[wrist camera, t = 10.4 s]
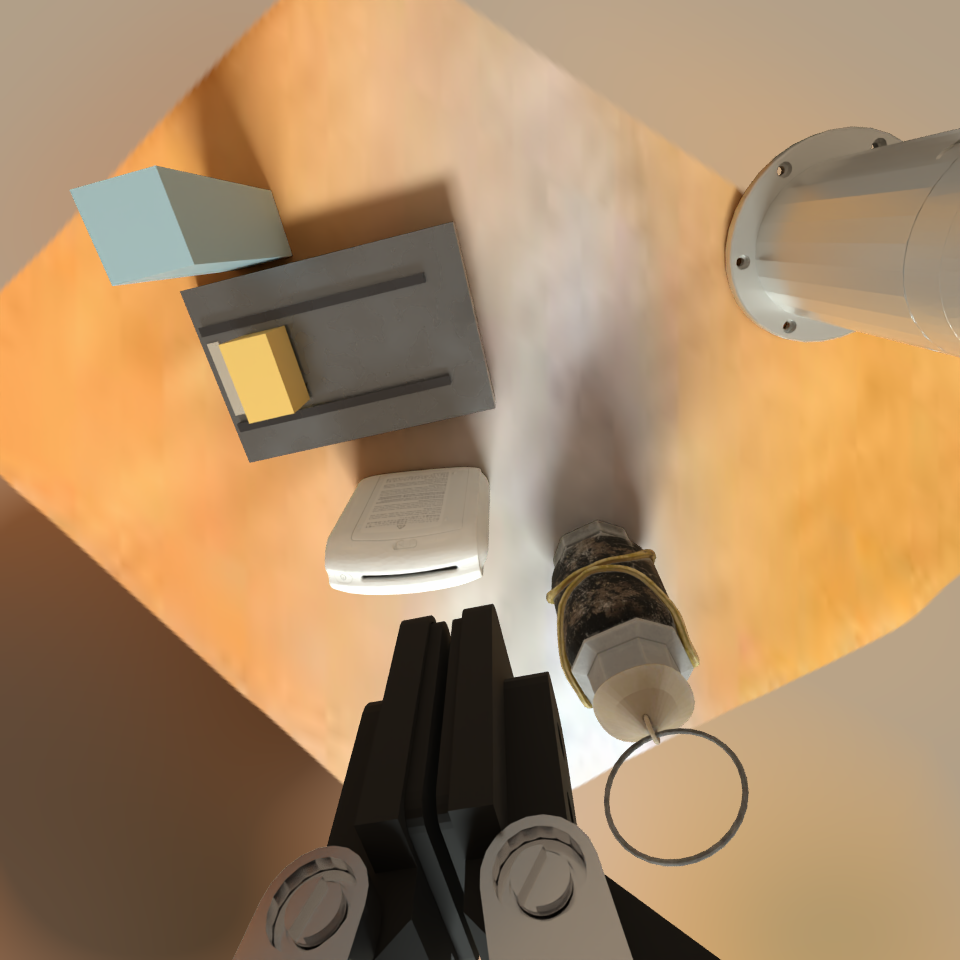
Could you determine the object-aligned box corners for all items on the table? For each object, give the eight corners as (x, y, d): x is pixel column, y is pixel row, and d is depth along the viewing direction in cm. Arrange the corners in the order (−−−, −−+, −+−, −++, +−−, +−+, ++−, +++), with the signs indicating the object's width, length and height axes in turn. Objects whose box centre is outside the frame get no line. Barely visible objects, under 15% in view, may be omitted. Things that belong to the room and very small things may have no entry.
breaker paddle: (284, 325, 38) (265, 333, 35) (310, 399, 40) (294, 413, 37) (241, 336, 38) (218, 345, 35) (268, 408, 40) (249, 423, 37)
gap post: (271, 190, 38) (155, 165, 25) (292, 255, 39) (194, 264, 26) (213, 206, 38) (69, 189, 25) (236, 270, 39) (112, 286, 26)
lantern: (567, 615, 50) (635, 944, 26) (523, 540, 47) (556, 834, 24) (664, 572, 48) (827, 885, 25) (624, 492, 45) (765, 759, 22)
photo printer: (363, 523, 47) (322, 616, 35) (353, 473, 45) (306, 553, 33) (492, 511, 46) (493, 601, 35) (486, 459, 44) (486, 536, 33)
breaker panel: (454, 222, 38) (451, 221, 35) (495, 399, 42) (495, 410, 40) (198, 288, 40) (175, 292, 37) (262, 450, 44) (246, 465, 41)
